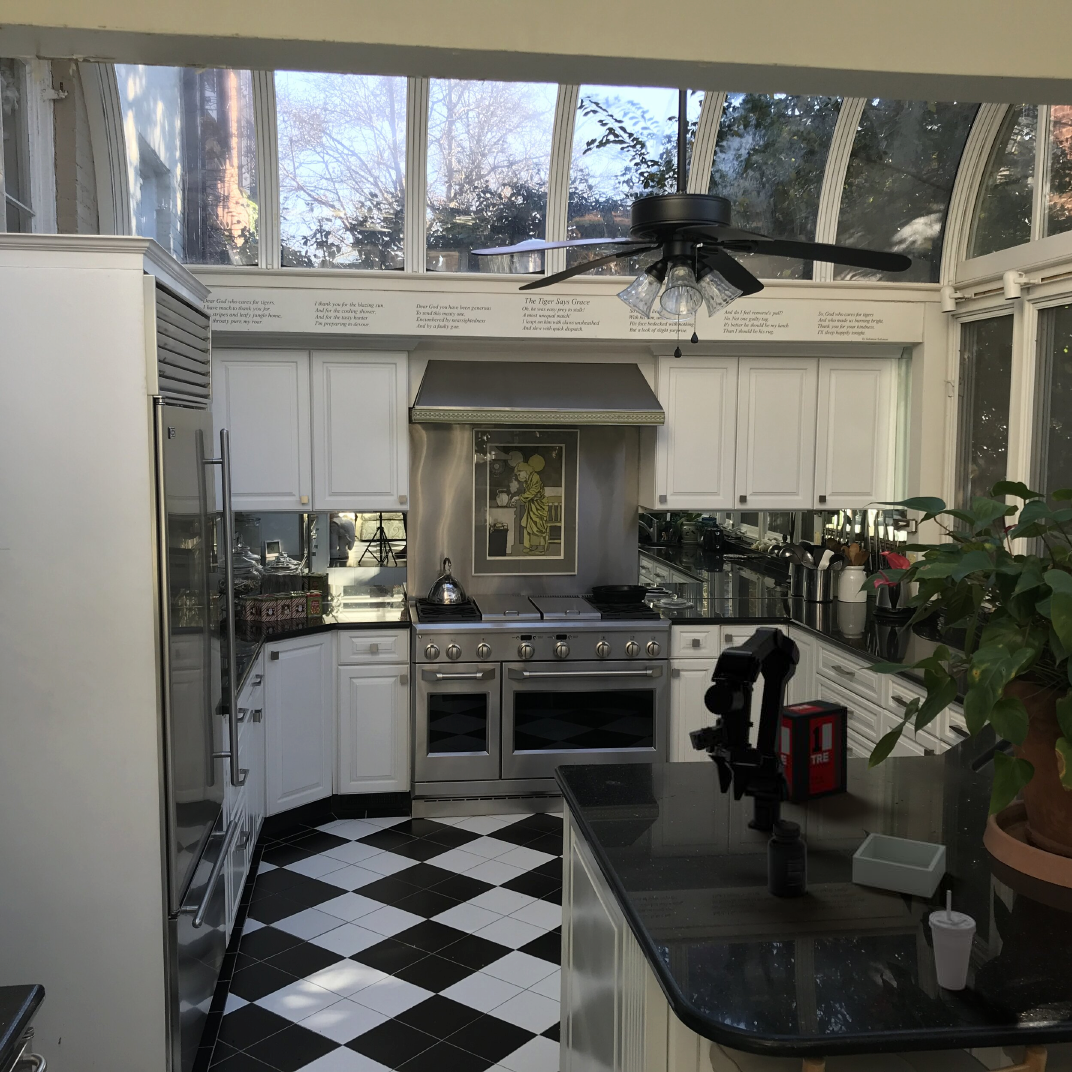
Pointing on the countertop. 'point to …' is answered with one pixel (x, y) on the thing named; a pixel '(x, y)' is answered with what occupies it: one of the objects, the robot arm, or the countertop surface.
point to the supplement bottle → (787, 860)
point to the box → (899, 865)
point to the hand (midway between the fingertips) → (730, 796)
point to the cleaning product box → (814, 749)
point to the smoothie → (951, 945)
